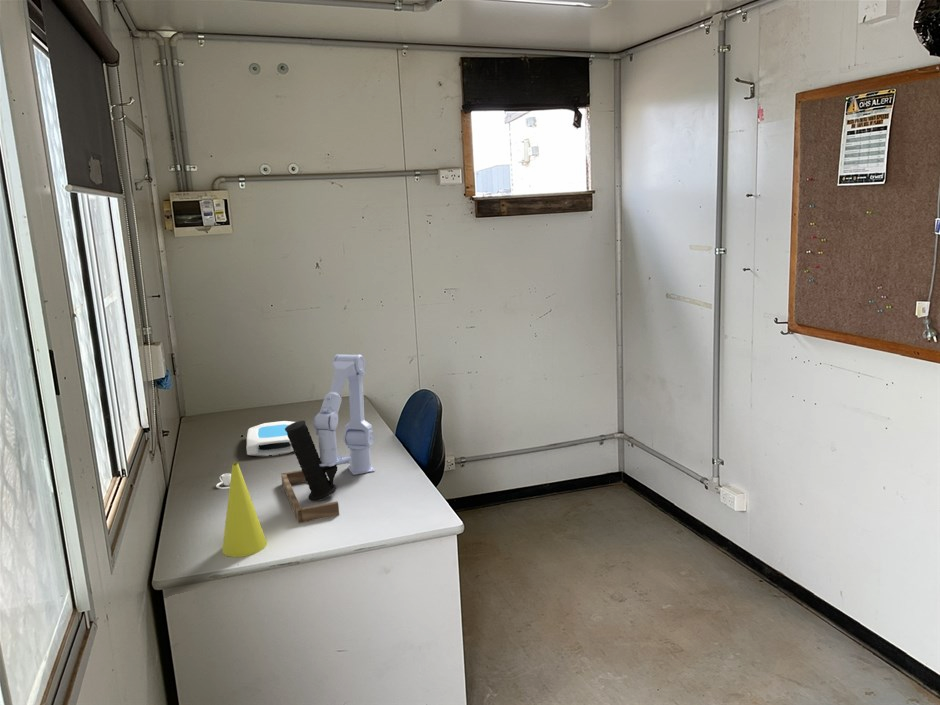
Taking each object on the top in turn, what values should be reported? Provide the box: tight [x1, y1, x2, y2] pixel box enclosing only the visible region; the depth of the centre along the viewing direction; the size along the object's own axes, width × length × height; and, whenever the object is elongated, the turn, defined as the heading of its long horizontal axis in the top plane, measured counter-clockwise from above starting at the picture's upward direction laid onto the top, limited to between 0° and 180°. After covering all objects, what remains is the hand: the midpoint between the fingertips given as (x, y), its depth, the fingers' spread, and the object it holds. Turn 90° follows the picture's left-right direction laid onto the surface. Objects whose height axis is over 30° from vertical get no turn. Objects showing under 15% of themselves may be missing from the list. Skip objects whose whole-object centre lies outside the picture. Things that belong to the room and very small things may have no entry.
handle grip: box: [285, 420, 338, 502], centre depth 236 cm, size 10×26×10 cm
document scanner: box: [245, 420, 296, 457], centre depth 297 cm, size 21×28×6 cm
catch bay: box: [280, 469, 340, 524], centre depth 238 cm, size 36×13×4 cm, turn 22°
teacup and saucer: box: [215, 472, 231, 490], centre depth 254 cm, size 9×8×4 cm
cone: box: [221, 461, 268, 558], centre depth 203 cm, size 12×12×25 cm
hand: (331, 486), depth 240 cm, fingers closed, pressing on handle grip
